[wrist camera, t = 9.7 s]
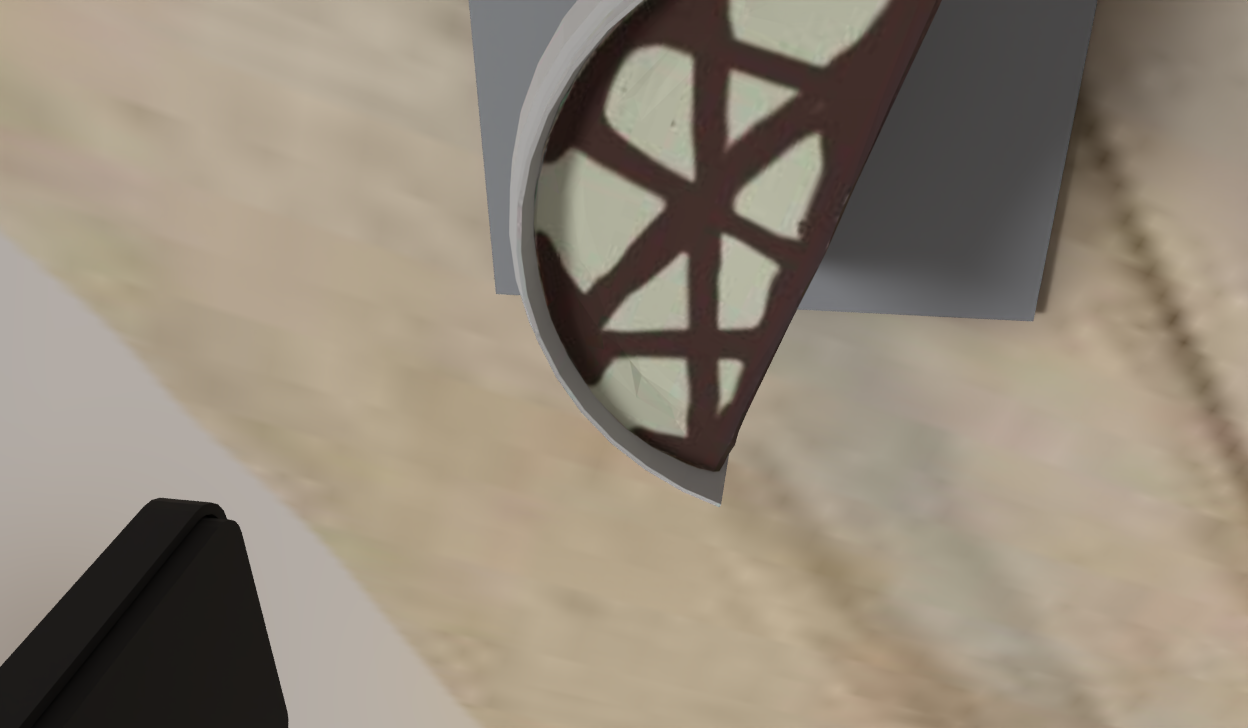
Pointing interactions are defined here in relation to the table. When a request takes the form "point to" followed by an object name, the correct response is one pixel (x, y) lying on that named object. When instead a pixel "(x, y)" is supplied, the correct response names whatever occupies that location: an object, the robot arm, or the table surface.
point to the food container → (691, 201)
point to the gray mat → (887, 157)
